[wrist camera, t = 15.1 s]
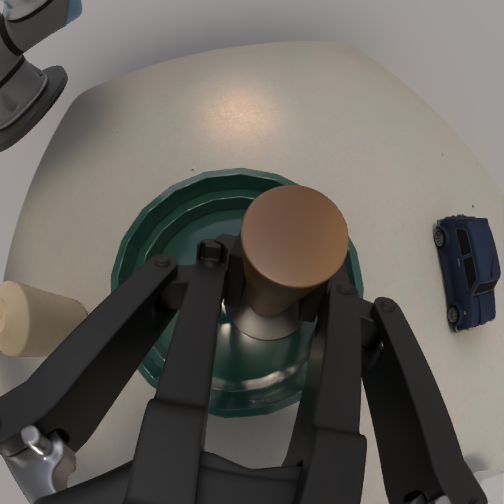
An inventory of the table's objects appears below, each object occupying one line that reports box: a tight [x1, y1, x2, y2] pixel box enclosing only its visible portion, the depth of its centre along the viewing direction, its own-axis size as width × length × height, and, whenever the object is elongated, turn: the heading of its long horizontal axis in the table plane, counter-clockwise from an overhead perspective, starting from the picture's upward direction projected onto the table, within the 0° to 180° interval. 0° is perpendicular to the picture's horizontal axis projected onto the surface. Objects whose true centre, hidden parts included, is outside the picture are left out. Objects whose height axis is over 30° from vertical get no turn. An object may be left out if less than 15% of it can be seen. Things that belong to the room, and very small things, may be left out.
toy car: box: [435, 214, 501, 332], centre depth 20 cm, size 6×12×6 cm, turn 4°
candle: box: [0, 280, 88, 357], centre depth 16 cm, size 6×6×10 cm
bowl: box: [111, 168, 364, 418], centre depth 20 cm, size 17×17×5 cm
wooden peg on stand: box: [224, 185, 349, 341], centre depth 14 cm, size 6×6×15 cm
